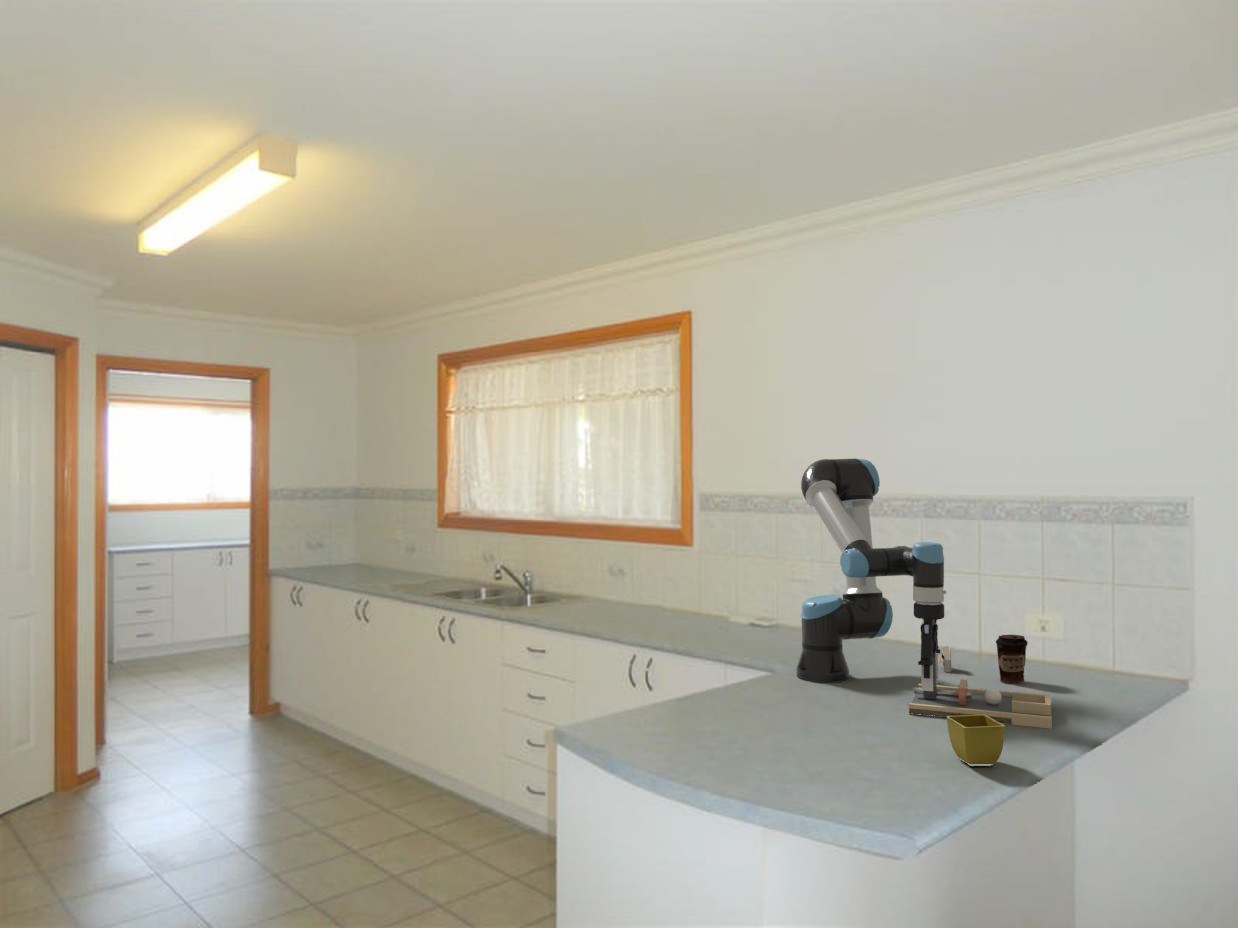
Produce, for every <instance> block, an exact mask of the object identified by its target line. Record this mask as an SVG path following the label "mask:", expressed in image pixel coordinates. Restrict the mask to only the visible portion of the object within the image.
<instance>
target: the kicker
mask: <svg viewBox="0 0 1238 928" xmlns="http://www.w3.org/2000/svg"><path fill="white" fill-rule="evenodd" d="M936 654H937V653H936V651H933V654H932V665H933V691H923V690H922V688H918V686H917V687H916V686H915V687H913V694H914V695H915V694H924V699H934V700H936V698H937V696H946V697H957V698H959V705H965V706H966V702H967V698H968V699H972V692H968V688H969V687H968V686H969V684H968V681H969V680H968V679H963V678H961V679H960V680H959V685H958V687H959V691H950V690H939V689H937V685H938V682H937V681H938V679H937V666H936ZM927 660H928V659H927Z"/></svg>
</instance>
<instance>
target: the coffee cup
mask: <svg viewBox="0 0 1238 928" xmlns="http://www.w3.org/2000/svg"><path fill="white" fill-rule="evenodd" d="M1028 643H1029V642H1028V641H1027V640H1026V639H1025V636H1024V635H1022V634H1021V635H1019V634H1002V635H998V638H997V639H996V640H995V644H996V648H997V649H996V651H997V660H998V661H997V663H998V670H999V671H998V672H999V676H1000V677H999V679H1000V680H999V681H1000V682H1002V683H1005V684H1016V685H1017V684H1024V683H1026V682H1025V675H1024V673H1025V665H1026V660H1027V659H1026V657H1027V656H1026V653H1027V646H1028Z"/></svg>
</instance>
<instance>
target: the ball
mask: <svg viewBox="0 0 1238 928" xmlns="http://www.w3.org/2000/svg"><path fill="white" fill-rule="evenodd" d="M986 690H987V691H986V692H985V695H984V697H985V700H986V701H987V702H988V703H989V704H991V705H997V704H999V703H1000V702H1001V699H1002V696H1001V693H1000V692H999V691H1000V690H998V689H996V688H988V689H986Z"/></svg>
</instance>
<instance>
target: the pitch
mask: <svg viewBox="0 0 1238 928" xmlns="http://www.w3.org/2000/svg"><path fill="white" fill-rule="evenodd" d="M917 685H918V686H917V688H922V683H918V684H917ZM937 689H939V690H950V691H959V686H948V685H939V684H937ZM987 690H988V689H984V688H975V687H974V688H970V687H968V692H972V699H968V698H967V702H966V706H965V705H959V698H957V697H946V696H937V698H936V700H934V699H924V694H914V697H913V699H912V700H911V702H910V703H908V714H909V713H913V714H921V715H920V716H922V715H933V716H934V715H935V716H939V717H938V718H942V717H947V716H962V715H986V716H988V717H990V718H992V719H993V720H995V721H997V722H999V723H1003V725H1011V724H1014V725H1013V726H1020V727H1021V726H1022V727H1023V726H1024V727H1030V728H1031V727H1032V728H1033V727H1034V728H1040V729H1041V728H1042V729H1051V730H1052V729H1053V727H1052V726H1053V725H1052V724H1053V723H1052V722H1053V720H1052V704H1051V703H1052V702H1051V701H1052V700H1051V694H1046V693H1045V694H1044V693H1043V694H1042V693H1036V692H1035V693H1032V692H1022V691H1021V692H1019V691H1007V690H998V691H999V692H1000V693H1001V696H1002V699H1001V702H1000V703H999V704H997V705H991V704H989V703H988V702H987V701H986V700H985V697H984V695H985V692H986V691H987ZM940 716H941V717H940Z"/></svg>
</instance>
